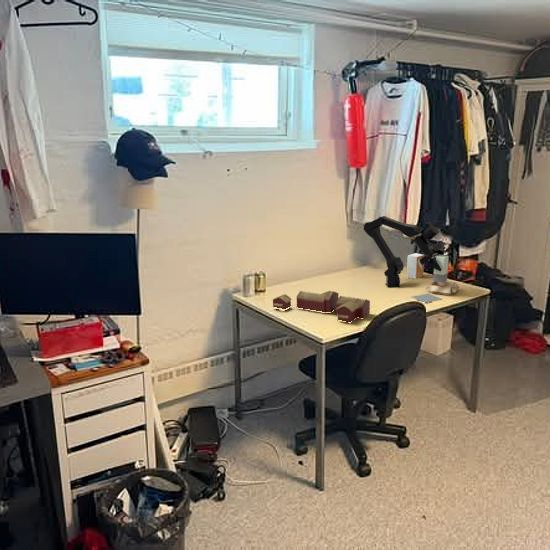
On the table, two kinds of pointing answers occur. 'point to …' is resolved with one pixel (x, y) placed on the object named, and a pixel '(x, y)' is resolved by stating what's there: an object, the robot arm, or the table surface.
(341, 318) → the toy houses
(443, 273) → the box
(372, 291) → the table surface
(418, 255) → the small box
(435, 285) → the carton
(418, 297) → the coaster
